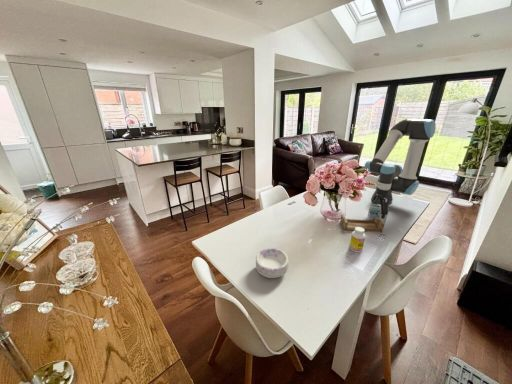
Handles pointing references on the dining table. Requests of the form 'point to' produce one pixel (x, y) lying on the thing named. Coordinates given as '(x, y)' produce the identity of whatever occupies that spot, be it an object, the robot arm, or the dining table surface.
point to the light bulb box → (375, 212)
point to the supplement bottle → (357, 239)
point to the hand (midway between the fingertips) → (376, 217)
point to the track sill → (362, 224)
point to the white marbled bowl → (272, 263)
